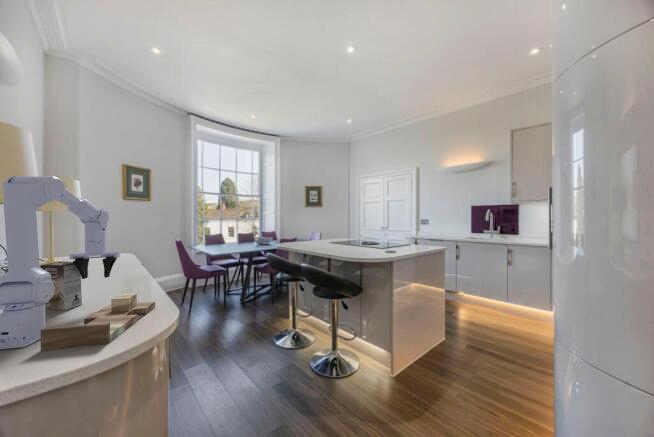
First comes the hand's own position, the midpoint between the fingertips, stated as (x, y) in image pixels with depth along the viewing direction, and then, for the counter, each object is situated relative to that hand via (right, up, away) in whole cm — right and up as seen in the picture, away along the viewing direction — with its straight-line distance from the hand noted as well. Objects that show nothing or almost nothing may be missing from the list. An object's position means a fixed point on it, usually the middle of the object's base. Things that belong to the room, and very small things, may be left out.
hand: (95, 277), depth 95 cm
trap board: (+20, -10, -18) cm, 28 cm away
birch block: (+18, -8, -10) cm, 22 cm away
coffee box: (-10, -10, -2) cm, 15 cm away
